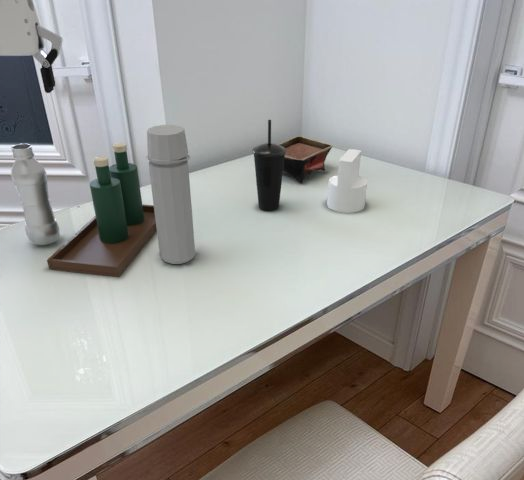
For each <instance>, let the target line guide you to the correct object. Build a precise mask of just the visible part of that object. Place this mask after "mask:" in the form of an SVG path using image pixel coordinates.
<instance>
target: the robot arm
mask: <svg viewBox="0 0 524 480" xmlns="http://www.w3.org/2000/svg"><path fill="white" fill-rule="evenodd" d="M45 40H47V41H49V43H50V44H51V47H50V50H49V52H48V53H47V52H46V51H45V50H44V49H45ZM63 41H64V40H63V37H62V36H61V35H59V34H57V33H56V32H55V33H54V32H53V31H51V30H49V29H47V28H45V27H43V26H42V25H41V24H40V20H39V16H38V13H37V9H36V7H35V3H34V0H0V57H25V56H32V57H33V58H34V59H35V60H36V61H37V62H38V63H39V64H40V65H41V67H40V69H39V71H40V75H41V79H42V86H43V89H44V92H45V93H46V94H50V93H52V92H53V91H54V89H55V87H56V80H55V79H56V78H55V75H54V70H53V66H52V65H54V63H55V61H56V60H57V58H58V57H59V55H60V51H61V48H62V44H63Z"/></svg>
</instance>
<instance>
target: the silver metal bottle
mask: <svg viewBox="0 0 524 480" xmlns="http://www.w3.org/2000/svg"><path fill="white" fill-rule="evenodd" d="M10 149H11V153H12V158H13V159H15V160H14V162H13V164H12V168H11V170H10V171H11V172H10V177H11V180H12V182H13V186H14V187H15V190H16V191H17V194H18V198H19V200H20V203H21V206H22V210H23V216H24V222H25V226H24V227H25V233H26V236H27V238H28V240H29V241H30V242H31V243H32V244H34V245H36V246H48V245H51V244H54V243H56V242H57V241H58V240H59V237H60V236H61V234H60V226H59V224H58V221H57V219H56V218H55V214H54V211H53V208H52V205H51V200H50V195H49V188H48V176H47V171H46V169H45V167H44V166H43V165H42V164H41V163H40V161H38V160H37V159H36V158H35V152H34V150H33V146H32V144H29V143H18V144H14V145H12V146H11V147H10Z"/></svg>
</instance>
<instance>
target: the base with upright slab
mask: <svg viewBox="0 0 524 480" xmlns="http://www.w3.org/2000/svg"><path fill="white" fill-rule="evenodd" d="M361 157H362V150H360V149H354V148H348V149H347V151H346V152H345V153H344V154H343V155H342V156H341V157H340V158H339V160H338V171H337V174H336V175H333V176H331V177H330V178H329V179H328V188H327V202H326V204H327V205H326V206H327V207H328V208H329V209H330V210H332V211H334V212H336V213H337V212H338V213H343V214H353V213H358V212H361V211H363V210H364V209H365V205H366V199H367V198H366V197H367V188H368V180H367V179H366V178H365V177H363V176H360V167H361Z"/></svg>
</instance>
